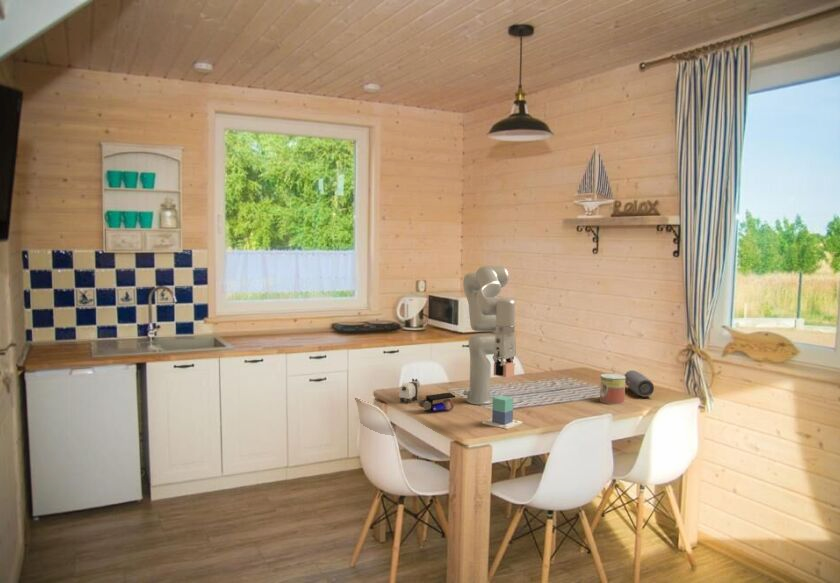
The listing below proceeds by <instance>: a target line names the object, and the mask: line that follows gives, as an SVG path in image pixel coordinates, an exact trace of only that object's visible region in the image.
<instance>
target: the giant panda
mask: <svg viewBox="0 0 840 583" xmlns="http://www.w3.org/2000/svg"><path fill="white" fill-rule="evenodd" d="M420 387H421V383H420V381H419V380H418V378H412V380H411V382H404V383H402V384H401V386H400V387H399V391H398V396H399V403H402V404H403V403H406V404H411V403H412V401H413V402H416V401H418V392H419V391H418V390H419V388H420ZM411 399H412V401H411ZM405 400H406V402H405Z"/></svg>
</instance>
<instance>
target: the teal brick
mask: <svg viewBox="0 0 840 583" xmlns="http://www.w3.org/2000/svg"><path fill="white" fill-rule="evenodd" d="M492 399H493V403H492V411H493V410H495V411H499V412H504V413H505V412H508V411H511V410H513V411H514V397H511V396H505V395H498V396H496V397H495V396H494V397H492Z"/></svg>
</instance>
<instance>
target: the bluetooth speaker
mask: <svg viewBox="0 0 840 583" xmlns="http://www.w3.org/2000/svg"><path fill="white" fill-rule="evenodd" d="M624 376H625V377H626V378H625V386H627V387H628V389H630V390H631V391H632V393H633V394H634V395H635V396H637V397H646V398H647V397H651V395H653V393H654V391H655V385H654V384H653V382H652V381H651V380H650V379H649V378H648V377H647V376H645V375H644V374H642V373H641V372H638V371H636V370H628V371H627V372H626V373H625V374H624Z"/></svg>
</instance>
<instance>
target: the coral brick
mask: <svg viewBox="0 0 840 583" xmlns="http://www.w3.org/2000/svg"><path fill="white" fill-rule="evenodd" d="M515 365H516V364H515V362H513V363H511V362H506V361H504V360H503V364H502V366H503V375H502V376H500V375H496V365H495V362H493V376H496V377H502V378H509V377H513V376H515V368H516V367H515Z"/></svg>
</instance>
